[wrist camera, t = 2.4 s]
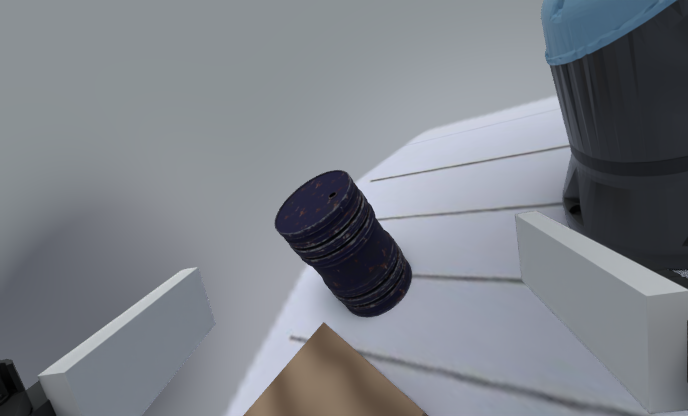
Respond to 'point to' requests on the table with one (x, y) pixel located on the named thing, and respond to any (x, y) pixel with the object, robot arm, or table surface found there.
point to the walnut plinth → (331, 384)
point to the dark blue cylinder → (345, 243)
